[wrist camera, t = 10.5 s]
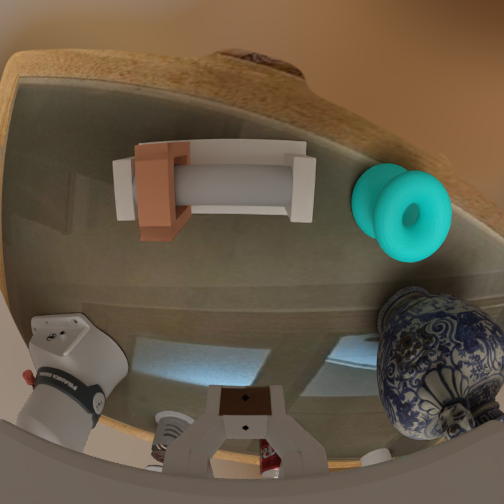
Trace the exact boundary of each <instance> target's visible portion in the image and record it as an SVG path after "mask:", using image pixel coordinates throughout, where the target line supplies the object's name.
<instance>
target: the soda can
mask: <svg viewBox="0 0 504 504" xmlns="http://www.w3.org/2000/svg"><path fill="white" fill-rule="evenodd" d="M281 460H282V459H281V458H280V457H279V455H278V454H277V453H276V452H275V450H274V449H273V448H272V447H271V445H270V444H269V443H268V441H267V440H266V439H260V474H261V476H262V477H263V478H265V479H272V478H278V473H279V469H280V465H281Z"/></svg>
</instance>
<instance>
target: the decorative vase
mask: <svg viewBox="0 0 504 504" xmlns="http://www.w3.org/2000/svg"><path fill="white" fill-rule="evenodd" d="M377 329H378V332H379V333H380V335H381V338H380V342H379V346H378V353H377V383H378V389H379V394H380V398H381V401H382V404H383V407H384V410H385V412H386V414H387V416H388V418H389V420H390V421H391V423H392V424H393V425H394V427H395V428H396V429H397V430H398V431H399V432H401V433H402V434H404V435H405V436H407V437H410V438H412V439H417V440H429V439H434V438H438V437H442V436H445V438H446V441H447V440H450V439H452V438H454V437H457V436H459V435H461V434H464V433H466V432H468V431H470V430H472V429H474V428H476V427H478V426H480V425H482V424H484V423H486V422H488V421H490V420H497V421H500V422H502V423H504V413H503V412H502V411H500V410H499V406H500V405H499V403H498V402H496V401H495V396H496V395H497V393H498V392H499V390H500V389H501V387H502V385H503V383H504V334H503V332H502V330H501V329H500V327H499V326H498V325H497V323H496V322H495V321H494V320H493V319H492V318H491V317H490V316H489V315H488V314H487V313H486V312H484V311H483V310H482V309H480V308H479V307H477V306H476V305H474V304H472V303H470V302H468V301H465V300H463V299H460V298H457V297H455V296H454V295H449V294H448V293H441V294H433V295H430V294H429V292H428V291H427V290H425V289H424V288H422V287H419V286H409V287H405V288H403V289H400V290H399V291H397V292H395V293H394V294H393V295H391V296H390V297H389V298H388V299H387V301H386V302H385V303H384V304H383V306H382V307H381V309H380V311H379V313H378V317H377Z"/></svg>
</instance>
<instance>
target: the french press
mask: <svg viewBox="0 0 504 504" xmlns="http://www.w3.org/2000/svg"><path fill="white" fill-rule="evenodd" d="M155 421H156V422H157V423H158V426H157V429H156V433H155V437H154V440H153V444H152V451H153V452H152V453H151V454H152V456H153V457H154V458H155V459H156V460H157V461H160V462H162V463H164V458H165V453H166V449H164V448H162V447H161V445H160V444H162V445H163V446H165V447H166V448H167V446H169V445H170V444H171V443H172V442H173V441H174V440H175V439H176V438H177V437H178V436H180V435H181V434H182V433H183V432H184V431H185V430H186V429H187V428H188V427H189V426H190V425H191V424H192V423H193V422H194V421H195V420H193V419H192V418H191V417H189V416H187V415H185V414H182V413H179V412H174V411H162V412H159V413H157V414H156V416H155ZM163 435H164V436H163ZM156 444H157V445H158V446H159V447H160V449H161V450H159V449H158V448H157V446H156ZM162 468H163V466H160V465H148V466H147V467H145V469H146V470H151V471H157V472H162Z"/></svg>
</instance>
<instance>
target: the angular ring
mask: <svg viewBox="0 0 504 504" xmlns="http://www.w3.org/2000/svg"><path fill="white" fill-rule="evenodd" d="M134 146H135V174H136V191H137V205H138V216H139V227H140V236H141V241H173V239H174V238H175V237H176V236H177V234H178V233H179V232H180V230H181V229H182V228H183V226H184V225H185V224H186V223H187V221H188V220H189V219H190V217H191V205H179V206H178V207H176V208H175V189H174V163H178V164H179V165H190V142H170V143H156V144H144V145H134Z"/></svg>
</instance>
